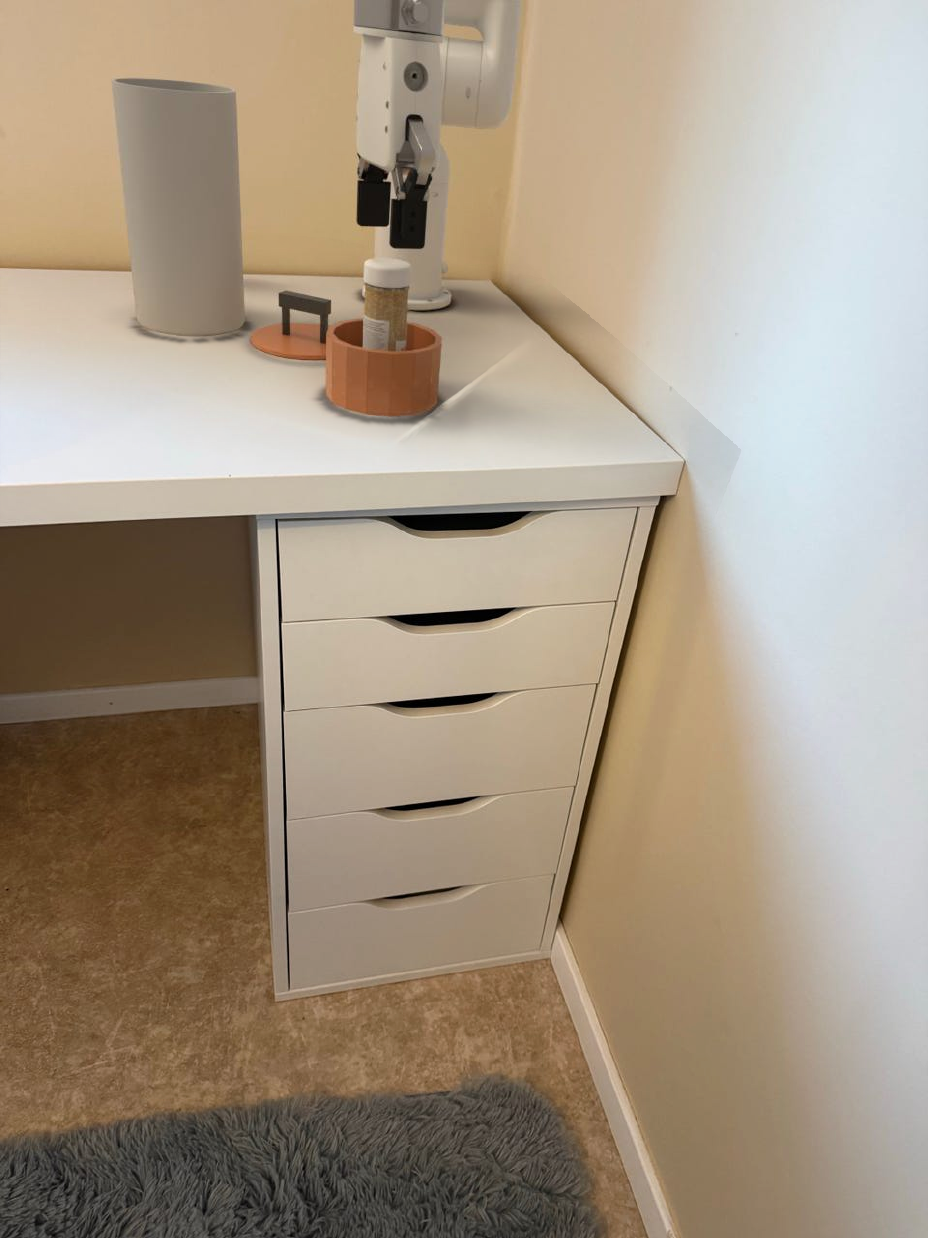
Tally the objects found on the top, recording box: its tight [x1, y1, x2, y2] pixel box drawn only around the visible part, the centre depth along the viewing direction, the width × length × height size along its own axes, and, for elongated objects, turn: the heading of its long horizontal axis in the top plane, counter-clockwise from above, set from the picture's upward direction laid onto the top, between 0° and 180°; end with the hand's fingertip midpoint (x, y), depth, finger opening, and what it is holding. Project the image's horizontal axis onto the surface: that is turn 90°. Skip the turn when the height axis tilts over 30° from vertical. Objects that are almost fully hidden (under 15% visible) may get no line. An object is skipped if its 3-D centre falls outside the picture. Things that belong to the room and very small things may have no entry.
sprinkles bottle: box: [363, 257, 411, 351], centre depth 90 cm, size 5×5×13 cm
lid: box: [250, 290, 332, 361], centre depth 104 cm, size 12×12×6 cm
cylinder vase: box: [111, 77, 246, 337], centre depth 102 cm, size 12×12×25 cm
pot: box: [325, 317, 443, 417], centre depth 92 cm, size 11×11×7 cm
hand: (389, 236), depth 84 cm, fingers open, 9 cm apart
